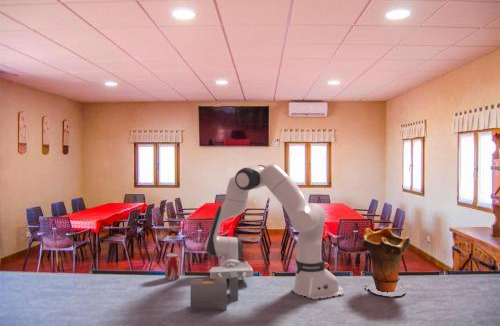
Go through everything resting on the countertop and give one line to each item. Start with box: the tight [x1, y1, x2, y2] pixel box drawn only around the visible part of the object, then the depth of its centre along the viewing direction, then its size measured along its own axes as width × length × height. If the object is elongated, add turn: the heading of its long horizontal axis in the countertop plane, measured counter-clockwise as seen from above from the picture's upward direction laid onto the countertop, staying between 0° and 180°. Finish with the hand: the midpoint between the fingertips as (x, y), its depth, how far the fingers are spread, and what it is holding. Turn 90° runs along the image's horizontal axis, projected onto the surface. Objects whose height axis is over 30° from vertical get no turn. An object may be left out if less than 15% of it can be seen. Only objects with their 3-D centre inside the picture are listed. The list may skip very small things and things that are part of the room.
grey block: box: [229, 271, 239, 302], centre depth 159 cm, size 3×8×10 cm, turn 7°
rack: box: [189, 278, 228, 313], centre depth 147 cm, size 14×6×12 cm, turn 98°
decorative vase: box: [362, 226, 410, 293], centre depth 166 cm, size 21×23×28 cm
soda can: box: [164, 252, 181, 282], centre depth 181 cm, size 7×7×12 cm
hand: (232, 278), depth 166 cm, fingers open, 8 cm apart
